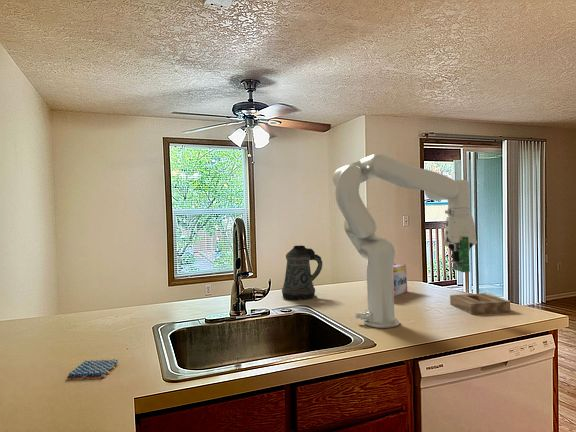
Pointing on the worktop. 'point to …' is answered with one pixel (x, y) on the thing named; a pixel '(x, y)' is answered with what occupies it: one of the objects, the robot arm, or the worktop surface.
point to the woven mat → (93, 369)
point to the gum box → (399, 279)
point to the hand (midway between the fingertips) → (460, 260)
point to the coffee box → (462, 256)
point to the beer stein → (300, 274)
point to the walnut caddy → (480, 303)
